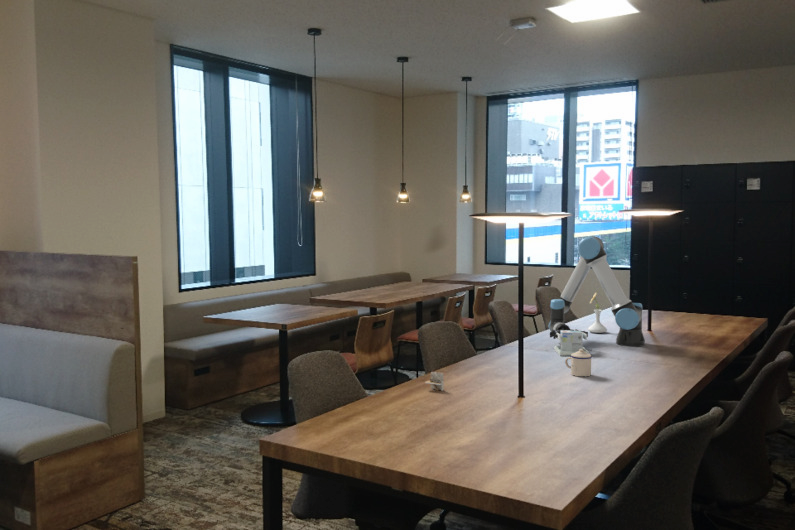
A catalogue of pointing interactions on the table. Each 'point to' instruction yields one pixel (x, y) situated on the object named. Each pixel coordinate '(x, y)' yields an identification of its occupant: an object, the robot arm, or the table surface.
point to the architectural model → (436, 381)
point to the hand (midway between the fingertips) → (573, 337)
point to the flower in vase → (597, 320)
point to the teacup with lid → (580, 363)
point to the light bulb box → (570, 340)
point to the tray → (557, 349)
